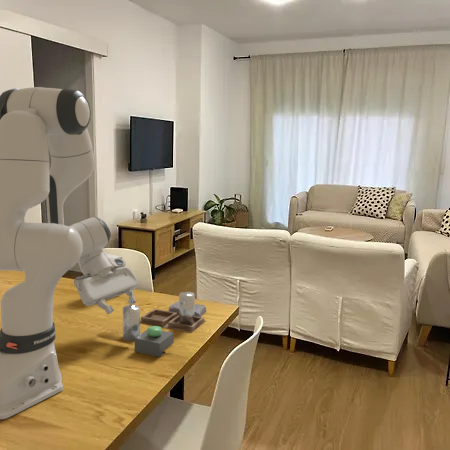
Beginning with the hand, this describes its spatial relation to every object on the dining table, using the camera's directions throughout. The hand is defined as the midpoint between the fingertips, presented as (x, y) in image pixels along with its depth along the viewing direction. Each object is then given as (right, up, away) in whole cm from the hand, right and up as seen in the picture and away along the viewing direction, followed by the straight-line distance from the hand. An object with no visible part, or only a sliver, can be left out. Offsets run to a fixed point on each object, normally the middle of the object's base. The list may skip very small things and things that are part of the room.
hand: (122, 308), depth 135 cm
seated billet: (+18, -7, +10) cm, 22 cm away
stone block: (+18, -7, +22) cm, 29 cm away
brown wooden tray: (+13, -8, +12) cm, 20 cm away
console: (+10, -11, -6) cm, 16 cm away
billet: (+3, -9, 0) cm, 10 cm away
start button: (+10, -10, -6) cm, 15 cm away
